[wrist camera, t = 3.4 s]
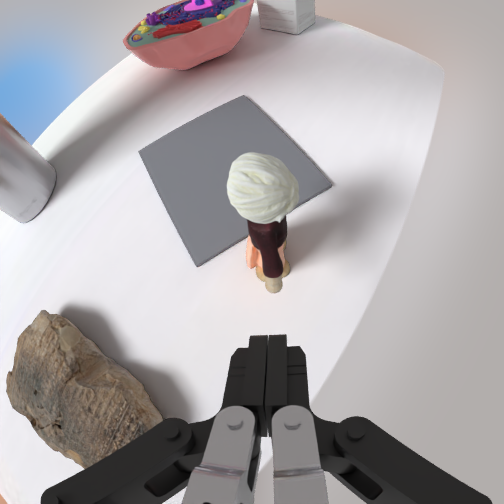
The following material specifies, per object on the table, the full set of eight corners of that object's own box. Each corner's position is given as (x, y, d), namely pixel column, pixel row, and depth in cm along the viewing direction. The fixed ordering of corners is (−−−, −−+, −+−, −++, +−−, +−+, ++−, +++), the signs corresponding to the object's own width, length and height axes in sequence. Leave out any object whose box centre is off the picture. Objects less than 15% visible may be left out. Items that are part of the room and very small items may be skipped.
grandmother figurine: (238, 226, 25) (199, 122, 13) (281, 215, 25) (272, 104, 13) (259, 312, 22) (227, 264, 11) (307, 300, 22) (328, 237, 10)
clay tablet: (209, 413, 20) (54, 296, 25) (190, 428, 16) (23, 286, 21) (149, 512, 17) (20, 394, 22) (127, 533, 13) (-10, 395, 17)
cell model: (125, 74, 38) (99, 25, 27) (217, 23, 41) (205, -25, 30) (173, 107, 32) (143, 36, 22) (283, 44, 35) (278, -17, 25)
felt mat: (139, 153, 30) (138, 151, 30) (244, 97, 31) (243, 94, 31) (197, 267, 24) (195, 265, 24) (331, 186, 25) (331, 184, 25)
